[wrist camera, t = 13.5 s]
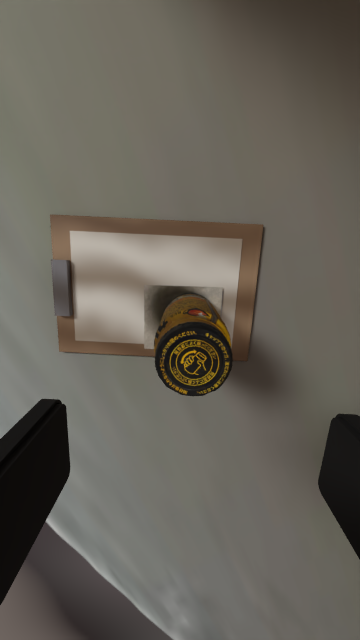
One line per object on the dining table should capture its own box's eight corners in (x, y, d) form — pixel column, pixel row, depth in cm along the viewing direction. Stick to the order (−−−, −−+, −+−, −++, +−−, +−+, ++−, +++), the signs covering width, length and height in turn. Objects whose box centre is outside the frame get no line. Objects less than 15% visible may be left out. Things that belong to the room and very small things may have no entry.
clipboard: (52, 215, 26) (45, 213, 25) (262, 225, 26) (265, 223, 25) (61, 350, 30) (55, 353, 29) (246, 359, 30) (249, 363, 28)
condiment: (217, 350, 29) (240, 412, 17) (144, 347, 29) (117, 407, 17) (222, 287, 27) (251, 307, 15) (144, 284, 27) (113, 302, 16)
